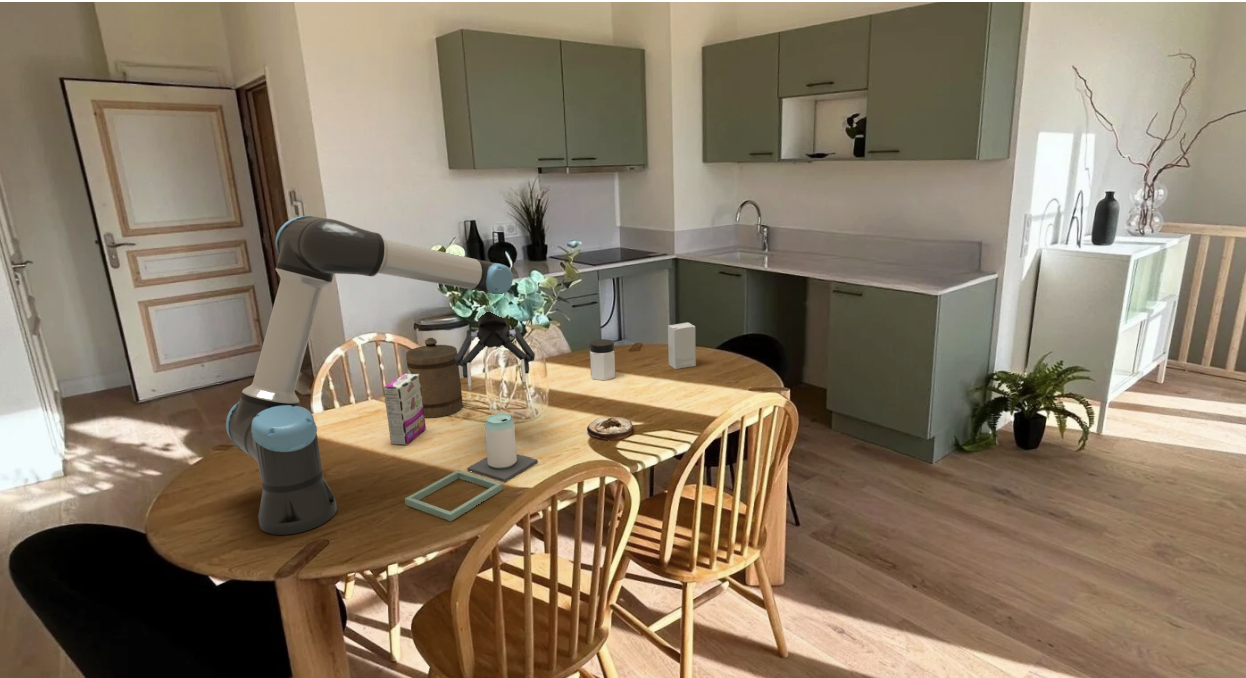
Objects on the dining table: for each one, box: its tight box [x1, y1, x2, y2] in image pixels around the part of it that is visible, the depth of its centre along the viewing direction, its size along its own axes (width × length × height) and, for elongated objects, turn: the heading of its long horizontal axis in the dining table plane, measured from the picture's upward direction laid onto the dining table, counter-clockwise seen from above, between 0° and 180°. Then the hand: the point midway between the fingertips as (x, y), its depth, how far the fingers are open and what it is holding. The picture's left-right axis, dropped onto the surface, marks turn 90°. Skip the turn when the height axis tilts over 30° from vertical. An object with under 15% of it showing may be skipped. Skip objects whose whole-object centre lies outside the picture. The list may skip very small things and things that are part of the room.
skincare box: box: [667, 322, 697, 370], centre depth 241 cm, size 8×6×15 cm
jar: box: [589, 338, 616, 381], centre depth 232 cm, size 9×8×12 cm
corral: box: [404, 469, 504, 522], centre depth 154 cm, size 16×14×2 cm
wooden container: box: [405, 337, 464, 419], centre depth 205 cm, size 15×15×22 cm
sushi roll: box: [586, 416, 634, 443], centre depth 188 cm, size 15×15×4 cm
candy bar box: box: [382, 373, 427, 446], centre depth 186 cm, size 11×5×16 cm, turn 168°
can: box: [484, 413, 517, 469], centre depth 167 cm, size 7×7×12 cm
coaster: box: [466, 453, 539, 483], centre depth 169 cm, size 12×12×1 cm
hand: (497, 386), depth 175 cm, fingers open, 13 cm apart
